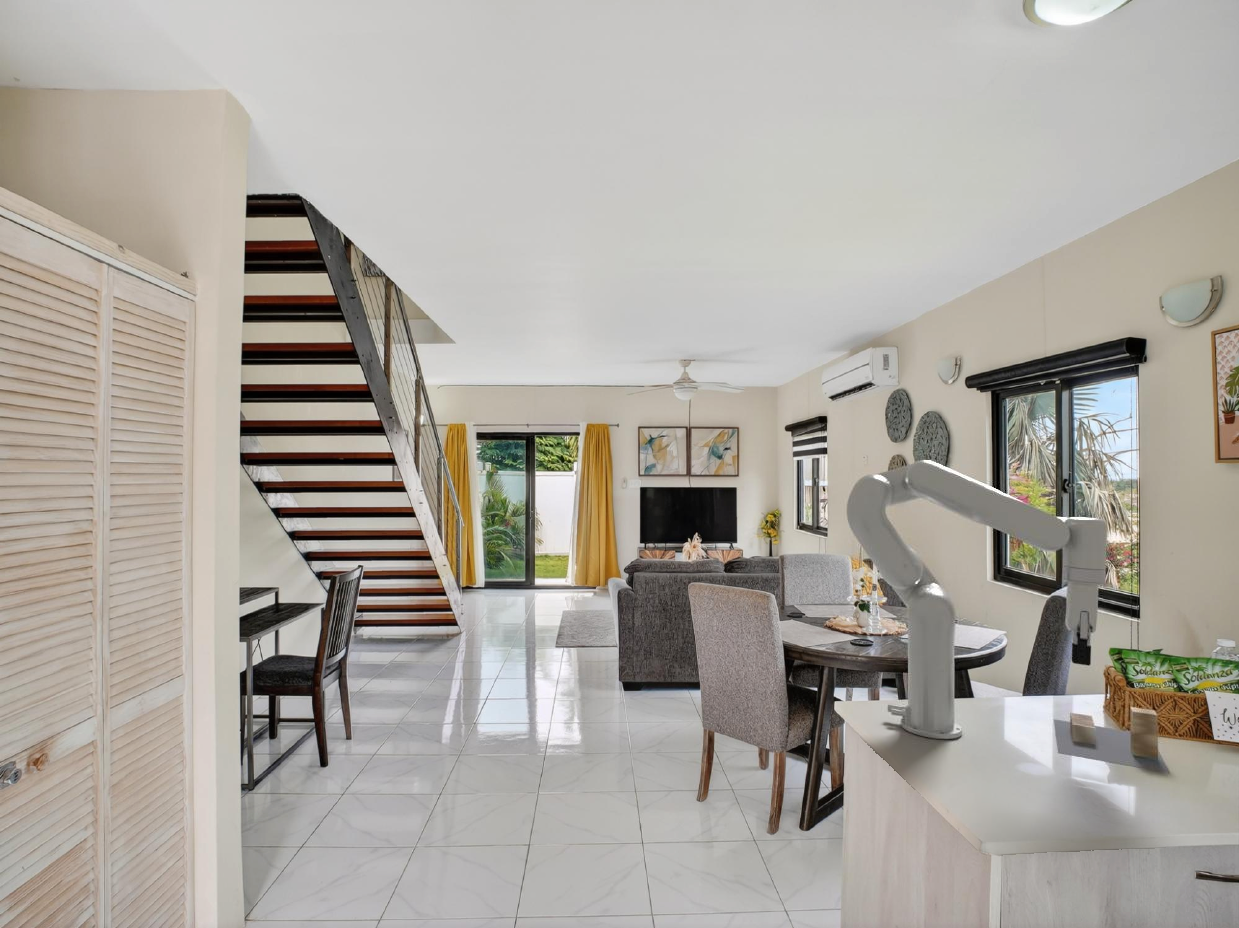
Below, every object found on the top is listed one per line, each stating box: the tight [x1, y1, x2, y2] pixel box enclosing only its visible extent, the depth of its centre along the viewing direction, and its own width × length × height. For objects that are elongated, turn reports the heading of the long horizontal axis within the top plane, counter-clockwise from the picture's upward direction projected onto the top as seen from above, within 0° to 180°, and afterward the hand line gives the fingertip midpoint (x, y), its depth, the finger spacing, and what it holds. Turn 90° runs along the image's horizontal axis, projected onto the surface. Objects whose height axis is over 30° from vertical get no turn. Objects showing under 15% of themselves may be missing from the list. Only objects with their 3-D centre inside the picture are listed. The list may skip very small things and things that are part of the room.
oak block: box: [1129, 706, 1159, 761], centre depth 138 cm, size 4×4×9 cm
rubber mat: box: [1053, 718, 1171, 774], centre depth 145 cm, size 18×24×1 cm
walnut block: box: [1069, 712, 1096, 745], centre depth 149 cm, size 4×4×9 cm
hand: (1080, 663), depth 143 cm, fingers closed
